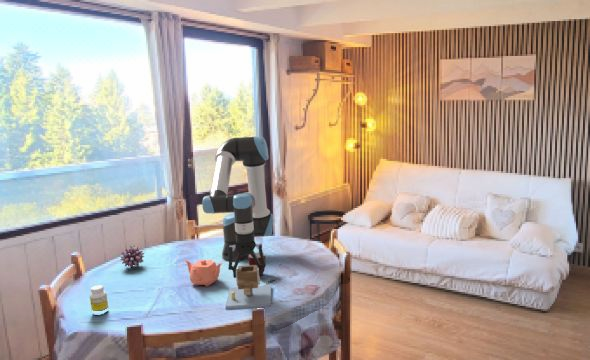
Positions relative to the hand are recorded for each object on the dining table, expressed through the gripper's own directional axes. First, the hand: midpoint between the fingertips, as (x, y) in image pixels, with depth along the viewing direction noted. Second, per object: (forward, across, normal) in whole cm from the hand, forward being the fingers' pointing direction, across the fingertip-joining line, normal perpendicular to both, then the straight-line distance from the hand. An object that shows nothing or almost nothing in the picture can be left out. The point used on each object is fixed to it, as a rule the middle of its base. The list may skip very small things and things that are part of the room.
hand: (248, 284), depth 189 cm
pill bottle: (+6, -60, -5) cm, 61 cm away
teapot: (+6, -22, +18) cm, 29 cm away
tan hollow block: (0, 0, -3) cm, 3 cm away
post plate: (+6, 0, 0) cm, 6 cm away
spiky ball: (+6, -62, +45) cm, 77 cm away
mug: (+6, +3, +23) cm, 24 cm away
